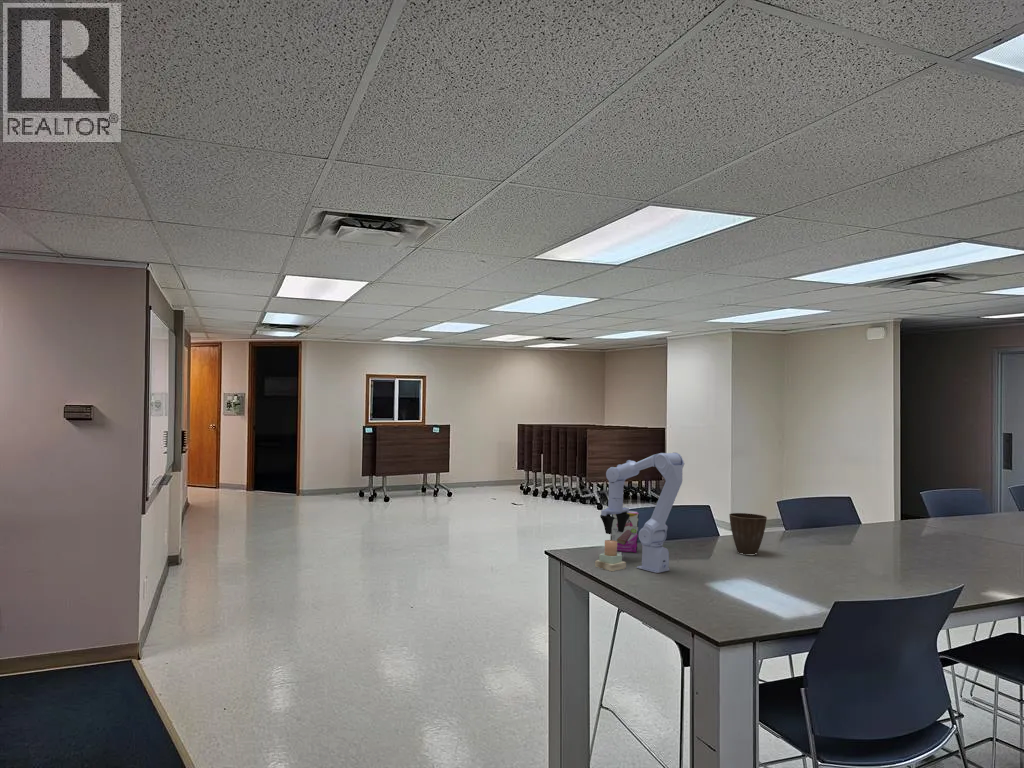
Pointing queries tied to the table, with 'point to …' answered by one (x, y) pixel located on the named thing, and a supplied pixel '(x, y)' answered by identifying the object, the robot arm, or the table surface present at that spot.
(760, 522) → the plant pot
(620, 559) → the tower top
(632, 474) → the robot arm
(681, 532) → the table surface
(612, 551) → the terracotta cylinder
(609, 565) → the tower base
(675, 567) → the table surface
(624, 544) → the candy bar box
